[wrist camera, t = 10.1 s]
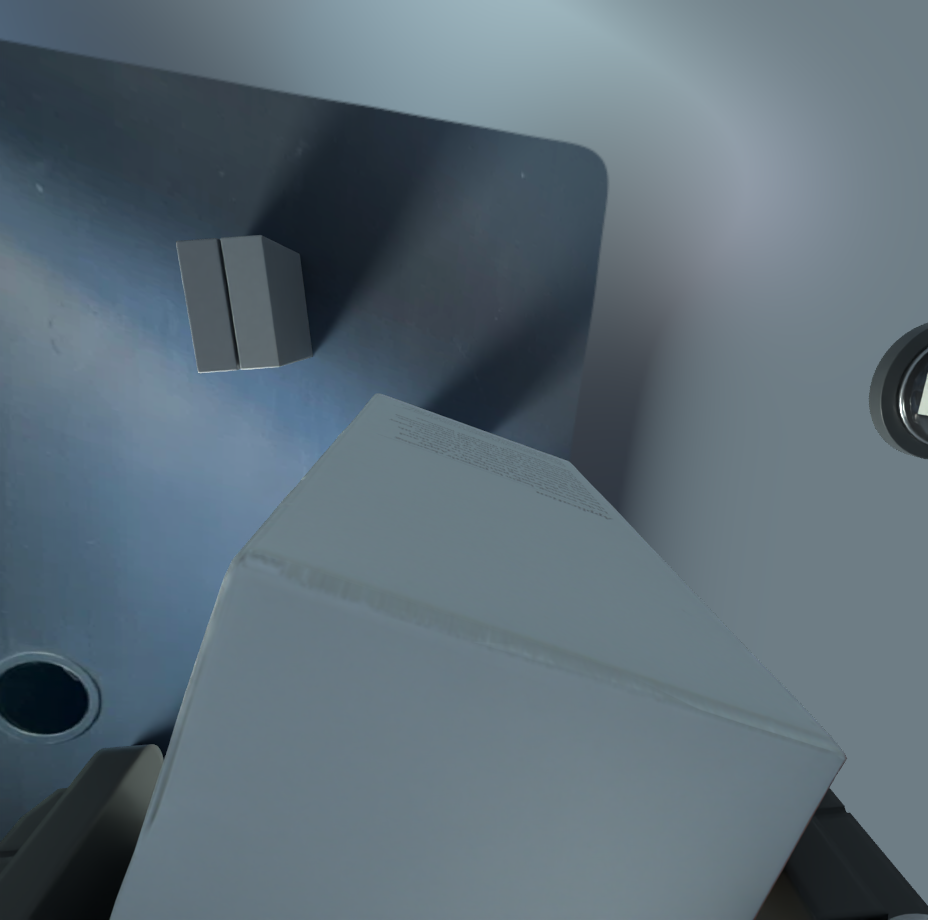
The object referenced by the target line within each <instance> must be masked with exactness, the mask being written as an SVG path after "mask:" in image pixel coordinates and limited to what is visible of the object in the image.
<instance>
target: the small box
mask: <svg viewBox="0 0 928 920" xmlns="http://www.w3.org/2000/svg"><path fill="white" fill-rule="evenodd" d="M846 759H847V758H846V755H845V753H844V752H843V751H842V749H841V748H840V747H839V745H838V744H837V743H836V742H835V741H834V739H833V738H832V737H831V736H830V735H829V734H828V733H827V732H826V730H825V729H824V728H822V726H821V725H820V724H819V723H818V722H817V721H816V720H815V719H814V718H813V716H812V715H811V714H810V713H809V712H808V711H807V710H806V709H805V708H804V707H803V706H802V704H801V703H799V701H798V700H797V699H796V698H795V697H794V696H793V695H792V694H791V693H790V692H789V691H788V690H787V689H786V687H785V686H784V685H783V684H782V683H781V682H780V681H779V680H778V679H777V678H776V677H775V676H774V675H773V674H772V673H771V672H770V671H769V670H768V669H767V668H766V667H765V666H764V665H763V664H762V663H761V662H760V661H759V660H758V659H757V658H756V657H755V656H754V655H753V654H752V653H751V652H750V651H749V650H748V648H747V647H746V646H745V645H744V644H743V643H742V642H741V641H740V640H739V639H738V638H737V637H736V636H735V635H734V634H733V633H732V632H731V631H730V629H729V628H728V627H727V626H726V625H725V624H724V623H723V622H722V621H721V620H720V619H719V618H718V617H717V616H716V615H715V614H714V612H712V610H711V609H710V608H709V607H708V606H707V605H706V604H705V603H704V602H703V601H702V600H701V599H700V598H699V597H698V596H697V595H696V594H695V592H694V591H693V590H692V589H691V588H690V587H689V586H688V585H687V584H686V583H685V582H684V581H683V580H682V579H681V578H680V577H679V576H678V575H677V574H676V573H675V572H674V571H673V569H672V568H671V567H670V566H669V565H668V564H667V563H666V562H665V561H664V560H663V559H662V558H661V557H660V556H659V555H658V554H657V553H656V552H655V551H654V550H653V549H652V548H651V547H650V546H649V544H648V543H646V541H645V540H644V539H643V538H642V537H641V536H640V535H639V534H638V533H637V532H636V531H635V529H634V528H633V527H632V526H631V525H630V524H629V523H628V522H627V521H626V520H625V519H624V518H623V517H622V516H621V515H620V514H619V513H618V512H617V510H616V509H615V508H614V507H613V506H612V505H611V504H610V503H609V502H608V501H607V500H606V499H605V498H604V497H603V496H602V495H601V494H600V493H599V492H598V491H597V490H596V489H595V488H594V487H593V486H592V485H591V484H590V483H589V481H587V479H586V478H584V476H583V475H582V474H581V473H580V472H579V471H578V470H577V469H576V468H575V467H574V466H573V465H572V464H571V463H570V462H569V461H567V460H564V459H561V458H558V457H555V456H552V455H550V454H547V453H544V452H541V451H538V450H536V449H533V448H530V447H527V446H525V445H522V444H519V443H516V442H513V441H511V440H508V439H505V438H502V437H500V436H497V435H494V434H491V433H489V432H486V431H483V430H480V429H477V428H475V427H472V426H469V425H466V424H464V423H461V422H458V421H455V420H452V419H450V418H447V417H444V416H441V415H439V414H436V413H433V412H430V411H428V410H425V409H422V408H419V407H416V406H414V405H411V404H408V403H405V402H403V401H400V400H397V399H394V398H392V397H389V396H386V395H383V394H375V395H374V396H373V397H372V398H371V400H370V401H369V402H368V403H367V404H366V406H365V407H364V408H363V409H362V411H361V412H360V413H359V414H358V415H357V417H356V418H355V419H354V420H353V421H352V422H351V423H350V424H349V426H348V427H347V428H346V429H345V430H344V431H343V432H342V433H341V434H340V435H339V436H338V438H337V439H336V440H335V441H334V442H333V444H332V445H331V446H330V447H329V448H328V449H327V451H326V452H325V453H324V454H323V455H322V456H321V457H320V459H319V460H318V461H317V462H316V463H315V464H314V465H313V467H312V468H311V469H310V470H309V471H308V473H307V474H306V475H305V476H304V477H303V479H302V480H301V481H300V482H299V483H298V485H297V486H296V487H295V488H294V489H293V490H292V491H291V492H290V493H289V494H288V495H287V496H286V497H285V498H284V499H283V501H282V502H281V503H280V504H279V506H278V507H277V508H276V509H275V510H274V512H273V513H272V514H271V515H270V517H269V518H268V519H267V520H266V521H265V522H264V524H263V525H262V526H261V527H260V528H259V529H258V531H257V532H256V533H255V534H254V535H253V536H252V538H251V539H250V540H249V541H248V542H247V543H246V545H245V546H244V547H243V548H242V549H241V550H240V552H239V553H238V554H237V555H236V556H235V557H234V559H233V560H232V562H231V564H230V566H229V568H228V570H227V572H226V575H225V577H224V579H223V582H222V585H221V588H220V591H219V594H218V597H217V600H216V603H215V606H214V609H213V612H212V615H211V618H210V621H209V624H208V626H207V629H206V632H205V635H204V638H203V641H202V644H201V647H200V650H199V653H198V656H197V659H196V662H195V665H194V668H193V671H192V674H191V677H190V680H189V683H188V687H187V690H186V693H185V696H184V699H183V702H182V705H181V708H180V711H179V714H178V717H177V720H176V723H175V727H174V730H173V733H172V737H171V740H170V744H169V747H168V750H167V753H166V756H165V759H164V762H163V765H162V768H161V771H160V774H159V777H158V780H157V783H156V786H155V789H154V792H153V795H152V798H151V801H150V804H149V807H148V810H147V814H146V817H145V820H144V823H143V826H142V829H141V832H140V835H139V838H138V841H137V845H136V848H135V851H134V853H133V856H132V859H131V861H130V864H129V867H128V869H127V872H126V875H125V877H124V880H123V882H122V885H121V888H120V890H119V893H118V896H117V898H116V901H115V905H114V908H113V911H112V914H111V917H110V920H755V919H756V917H757V915H758V913H759V912H760V910H761V908H762V906H763V905H764V903H765V901H766V899H767V897H768V896H769V894H770V892H771V890H772V888H773V887H774V885H775V883H776V881H777V880H778V878H779V876H780V874H781V872H782V871H783V869H784V867H785V865H786V863H787V862H788V860H789V858H790V856H791V854H792V853H793V851H794V849H795V847H796V846H797V844H798V842H799V840H800V838H801V837H802V835H803V833H804V831H805V829H806V828H807V826H808V824H809V822H810V821H811V819H812V817H813V815H814V814H815V812H816V810H817V808H818V807H819V805H820V803H821V801H822V800H823V798H824V796H825V794H826V793H827V791H828V789H829V787H830V785H831V784H832V782H833V780H834V778H835V777H836V775H837V774H838V772H839V770H840V769H841V767H842V766H843V764H844V763H845V761H846Z"/></svg>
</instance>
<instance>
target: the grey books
mask: <svg viewBox="0 0 928 920" xmlns="http://www.w3.org/2000/svg"><path fill="white" fill-rule="evenodd" d="M176 246H177V252H178V257H179V263H180V269H181V275H182V281H183V287H184V293H185V298H186V304H187V310H188V316H189V322H190V328H191V334H192V339H193V345H194V351H195V357H196V363H197V369H198V373H208V372H221V371H233V370H239V369H241V370H246V369H259V368H272V367H280V366H284V365H287V364H290V363H294V362H297V361H300V360H304V359H307V358H310V357H313V353H312V346H311V338H310V330H309V322H308V314H307V307H306V299H305V291H304V283H303V275H302V268H301V260H300V254H299V253H297V252H295V251H292V250H290V249H288V248H286V247H284V246H282V245H280V244H278V243H276V242H274V241H272V240H270V239H268V238H266V237H264V236H262V235H254V236H240V237H226V238H221V240H219V239H217V238H212V239H198V240H184V241H176Z"/></svg>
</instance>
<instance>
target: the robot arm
mask: <svg viewBox="0 0 928 920" xmlns="http://www.w3.org/2000/svg"><path fill="white" fill-rule="evenodd" d="M896 409H897V414H898V417H899V420H900V422H901V424H902V426H903V427H904V429H905V430H906V431H907V432H908V433H909V434H910V435H911V436H912V437H913V438H915V439H916V440H918V441H920V442H922V443H925V444H928V346H926V347H925V348H923V349H922V350H921V351H920V352H919V353H917V354H916V355H915V356H914V358H913V359H912V360H911V361H910V362H909V364H908V365H907V367H906V368H905V370H904V372H903V374H902V376H901V378H900V381H899V384H898V388H897V393H896ZM163 762H164V760H163V756H162V753H161V750H160V749H159V747H158V746H156V745H154V744H150V745H138V746H126V747H114V748H103V749H101V750H99V751H98V752H96V753H95V754H94V756H93V757H92V758H91V759H90V761H89V762H88V763H87V764H86V766H85V767H84V768H83V769H82V771H81V772H80V773H79V774H78V776H77V777H76V778H75V779H74V781H73V782H72V783H71V785H70V786H69V787H68V788H63V789H58V790H56V791H55V792H54V793H53V794H51V795H50V796H49V797H47V798H46V799H45V800H44V801H42V802H41V803H40V804H38V805H37V806H36V807H34V808H33V809H32V810H31V811H29V812H28V813H27V814H25V815H24V816H23V817H22V818H20V820H19V821H18V822H17V823H16V824H15V826H14V827H13V828H12V829H11V830H10V832H9V833H8V834H7V835H6V836H5V837H4V839H3V840H2V841H1V842H0V920H110V917H111V914H112V911H113V908H114V905H115V901H116V898H117V896H118V893H119V890H120V888H121V885H122V882H123V880H124V877H125V875H126V872H127V869H128V867H129V864H130V861H131V859H132V856H133V853H134V851H135V848H136V845H137V841H138V838H139V835H140V832H141V829H142V826H143V823H144V820H145V817H146V814H147V810H148V807H149V804H150V801H151V798H152V795H153V792H154V789H155V786H156V783H157V780H158V777H159V774H160V771H161V768H162V765H163ZM755 920H928V906H927V904H926V903H925V902H924V901H923V900H922V898H921V897H920V896H919V895H918V894H917V892H916V891H915V890H914V889H913V888H912V886H911V885H910V884H909V883H908V882H907V880H906V879H905V878H904V877H903V876H902V874H901V873H900V872H899V871H898V870H897V869H896V867H895V866H894V865H893V864H892V862H891V861H890V860H889V859H888V858H887V857H886V855H885V854H884V853H883V852H882V850H881V849H880V848H879V847H878V846H877V844H875V842H874V841H873V840H872V839H871V837H870V836H869V835H868V834H867V833H866V831H865V830H864V829H863V828H862V827H861V825H860V824H859V823H858V822H857V821H856V819H855V818H854V817H853V816H852V815H851V813H847V812H846V811H845V808H844V805H843V804H842V803H841V801H840V800H839V799H838V798H837V797H836V795H835V794H834V793H833V792H832V791H831V789H830V788H829V789H828V791H827V793H826V794H825V796H824V798H823V800H822V801H821V803H820V805H819V807H818V808H817V810H816V812H815V814H814V815H813V817H812V819H811V821H810V822H809V824H808V826H807V828H806V829H805V831H804V833H803V835H802V837H801V838H800V840H799V842H798V844H797V846H796V847H795V849H794V851H793V853H792V854H791V856H790V858H789V860H788V862H787V863H786V865H785V867H784V869H783V871H782V872H781V874H780V876H779V878H778V880H777V881H776V883H775V885H774V887H773V888H772V890H771V892H770V894H769V896H768V897H767V899H766V901H765V903H764V905H763V906H762V908H761V910H760V912H759V913H758V915H757V917H756V919H755Z"/></svg>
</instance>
